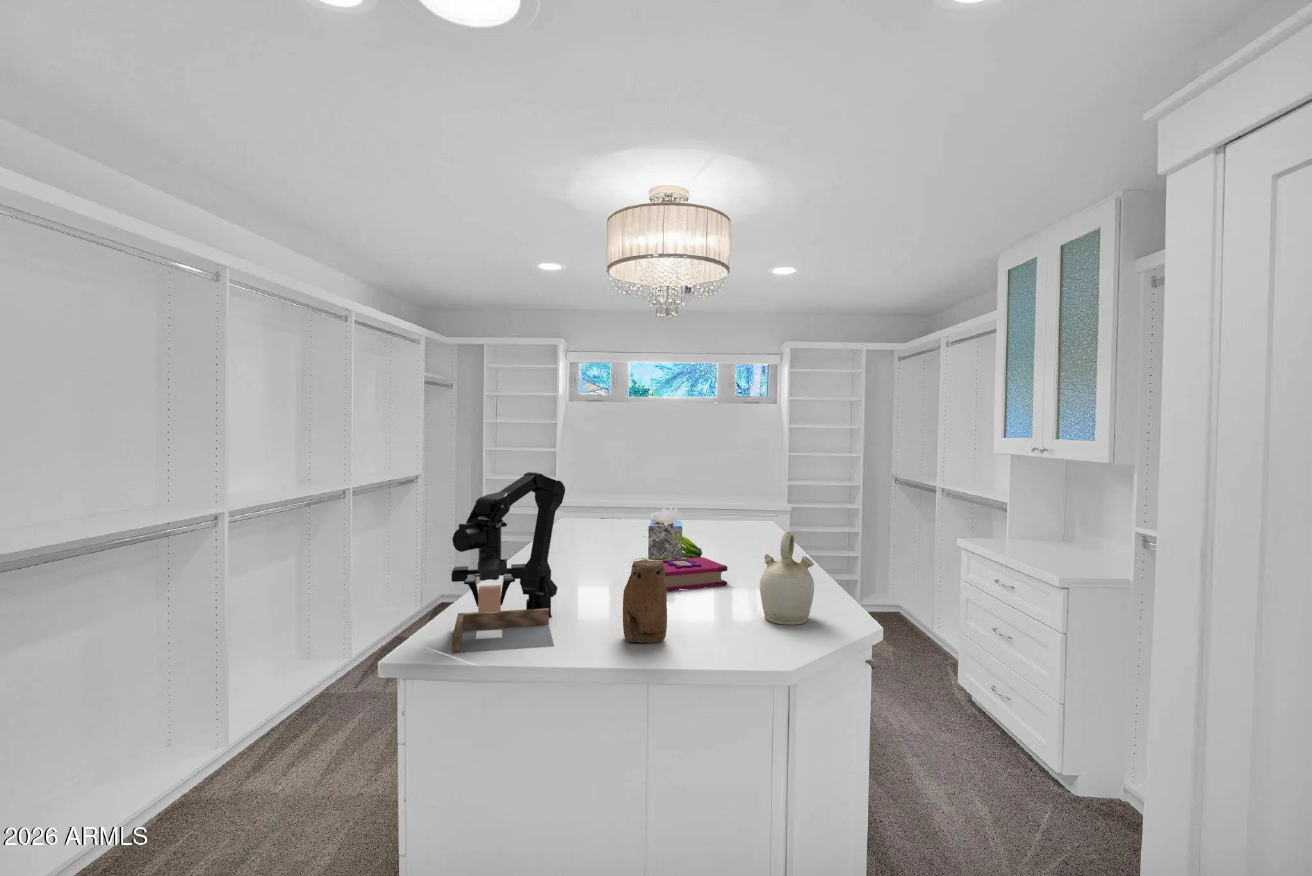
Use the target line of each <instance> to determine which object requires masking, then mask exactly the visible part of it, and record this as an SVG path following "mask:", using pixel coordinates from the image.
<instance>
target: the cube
mask: <svg viewBox="0 0 1312 876" xmlns="http://www.w3.org/2000/svg"><path fill="white" fill-rule="evenodd" d="M501 591H502V584H501V585H500V584H497V585H496V584H495V585H493V584H492V585H479V586H478V611H477V612H478V613H482V612H499V611H502V610H501V609H502V608H501V607H502V605H501Z"/></svg>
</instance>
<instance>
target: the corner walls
mask: <svg viewBox="0 0 1312 876" xmlns="http://www.w3.org/2000/svg"><path fill="white" fill-rule="evenodd" d="M455 620H456V621H455V624H454V628H453V631H452V637H451V641H452V643H451V645H452V646H451V647H452V648H451V650H452V654H460V653H459V649H460V644H461V639H462V634H463V630H464V629H480V628H497V627H513V626H530V625H547V624H549V625H550V618H549V608H546V609H528V610H526V609H514V610H513V609H512V610H501V611H499V612H482V613H478V611H476V612H460V613H459V612H458V613H457V617H456V619H455Z"/></svg>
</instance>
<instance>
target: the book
mask: <svg viewBox="0 0 1312 876" xmlns="http://www.w3.org/2000/svg"><path fill="white" fill-rule="evenodd" d="M659 561H660V562H662V563H663V565H664V567H665V569H666V571H665V577H666V588H667V591H668V592H674V591H673V590H678V591H680V590H679V589H688V590H696V589H705V588H704V587H709V588H718V587H727V586H728V581H726V580H724V579H722V573H723V572H728V566H727V564H721V563H720V562H716V561H715V560H712V559H709V558H706V557H702V556H701V557H699V558H678V559H672V560H664V559H661V560H660V559H659ZM726 585H727V586H726Z"/></svg>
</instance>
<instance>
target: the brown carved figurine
mask: <svg viewBox="0 0 1312 876" xmlns="http://www.w3.org/2000/svg"><path fill="white" fill-rule="evenodd" d="M647 560H648V559H647ZM647 560H644V559H639V560H634V561H632V565H631V573H630V575H629V577H628V580H627V583H626V584H625V586H624V589H623V594H622V597H623V598H622V627H623V636H624V639H625V640H626V642H628V643H636V642H637V643H639V644H642V643H658V642H662V641H664V640H665V638H666V636H667V630H668V608H667V607H668V605H667V601H668V599H667V598H668V594H667V593H668V592H667V588H666V577H665V571H666V569H665V567H664V565H663V563H662V562H660V560H649V561H647Z"/></svg>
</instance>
